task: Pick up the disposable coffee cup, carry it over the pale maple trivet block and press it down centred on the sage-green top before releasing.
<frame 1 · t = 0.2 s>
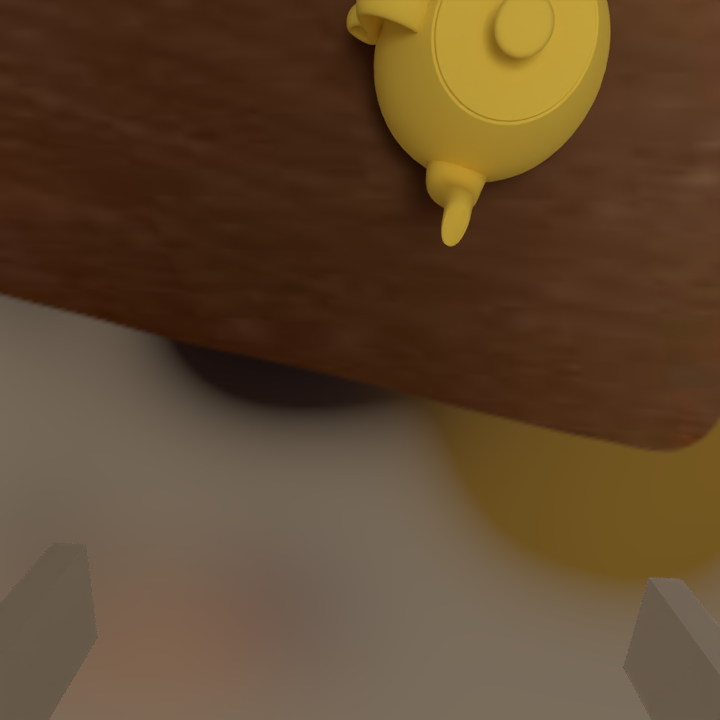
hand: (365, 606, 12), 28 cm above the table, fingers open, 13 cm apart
teapot: (459, 73, 34), on the table
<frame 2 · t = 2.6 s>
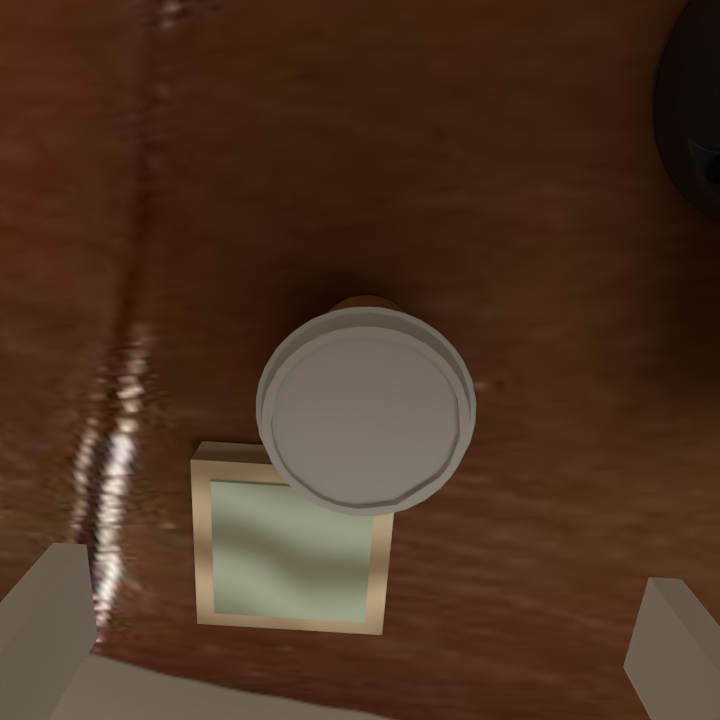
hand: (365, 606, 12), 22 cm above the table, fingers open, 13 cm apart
disposable coffee cup: (366, 343, 33), on the table
trivet: (296, 529, 37), on the table
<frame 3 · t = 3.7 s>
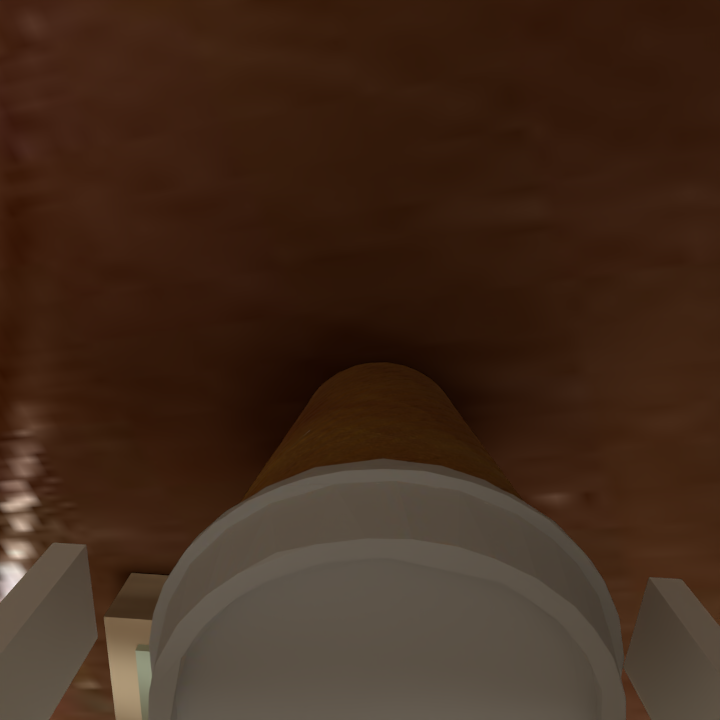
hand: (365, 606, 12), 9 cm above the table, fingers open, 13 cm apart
disposable coffee cup: (379, 434, 21), on the table
trivet: (275, 692, 25), on the table
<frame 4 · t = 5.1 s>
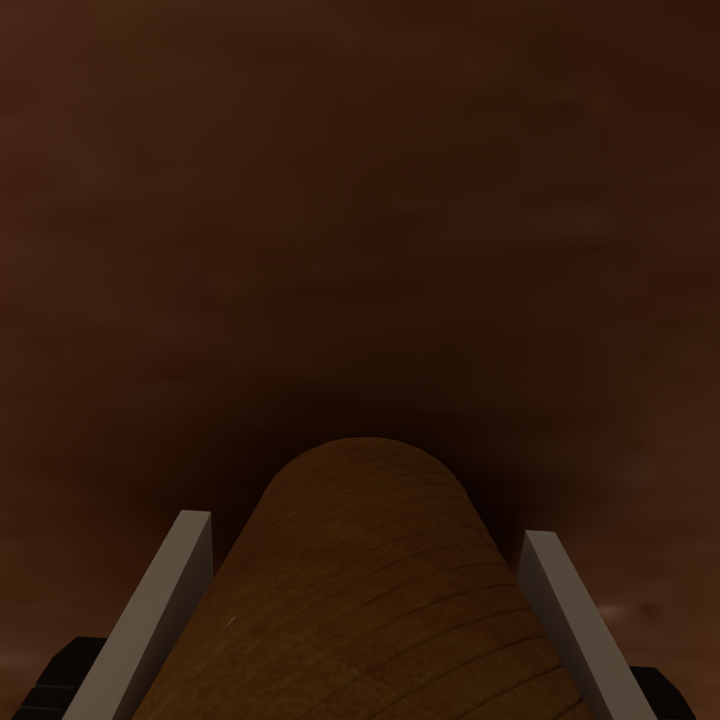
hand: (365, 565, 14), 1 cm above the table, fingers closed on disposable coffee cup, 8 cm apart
disposable coffee cup: (365, 529, 15), on the table, touching gripper
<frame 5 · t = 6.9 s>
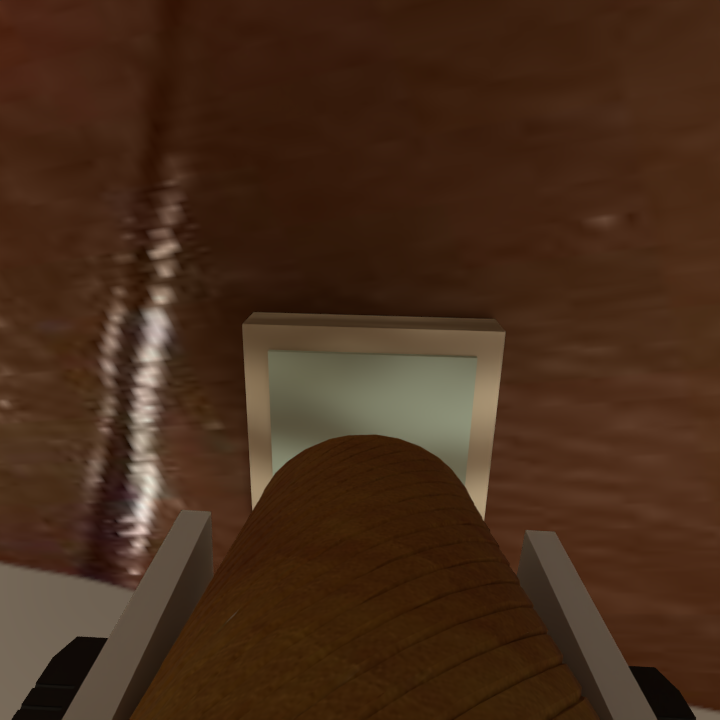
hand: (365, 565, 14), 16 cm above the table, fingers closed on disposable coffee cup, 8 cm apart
disposable coffee cup: (365, 528, 15), point 15 cm above the table, touching gripper
trivet: (370, 424, 30), on the table
when the fingers open (5 cm above the table, at t = 8.9 s): disposable coffee cup stays where it is, resting on trivet.
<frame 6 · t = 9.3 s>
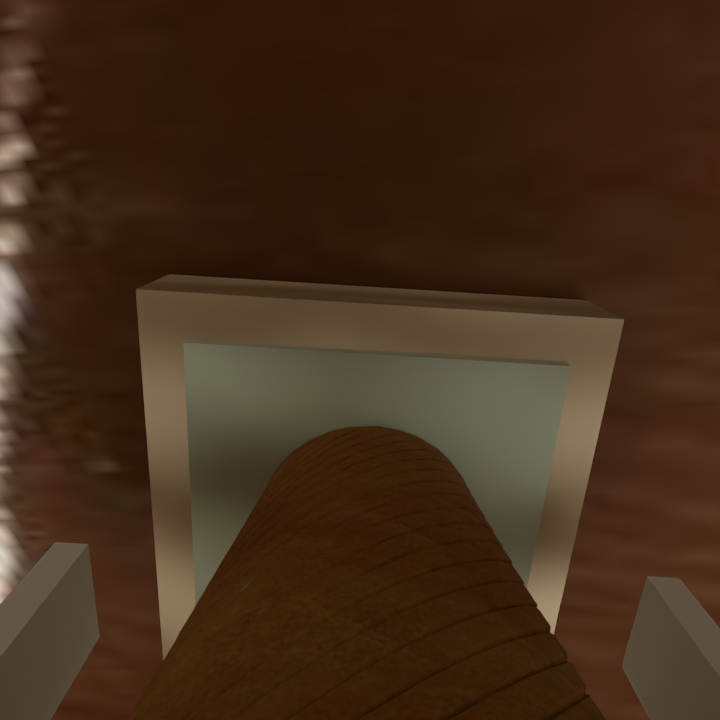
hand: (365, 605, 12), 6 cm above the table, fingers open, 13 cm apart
disposable coffee cup: (367, 516, 16), point 3 cm above the table, touching trivet
trivet: (365, 471, 18), on the table
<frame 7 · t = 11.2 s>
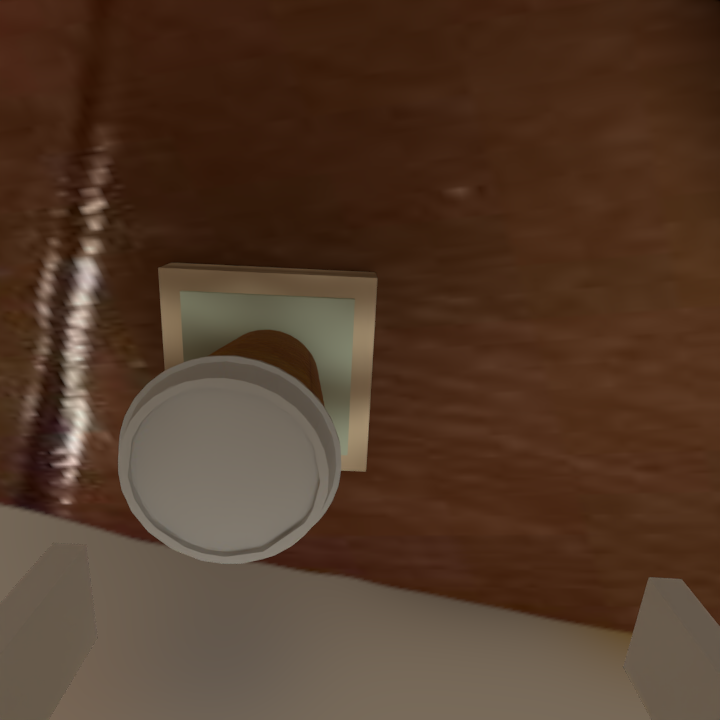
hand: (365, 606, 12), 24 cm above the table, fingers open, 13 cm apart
disposable coffee cup: (269, 376, 33), point 3 cm above the table, touching trivet
trivet: (274, 363, 35), on the table
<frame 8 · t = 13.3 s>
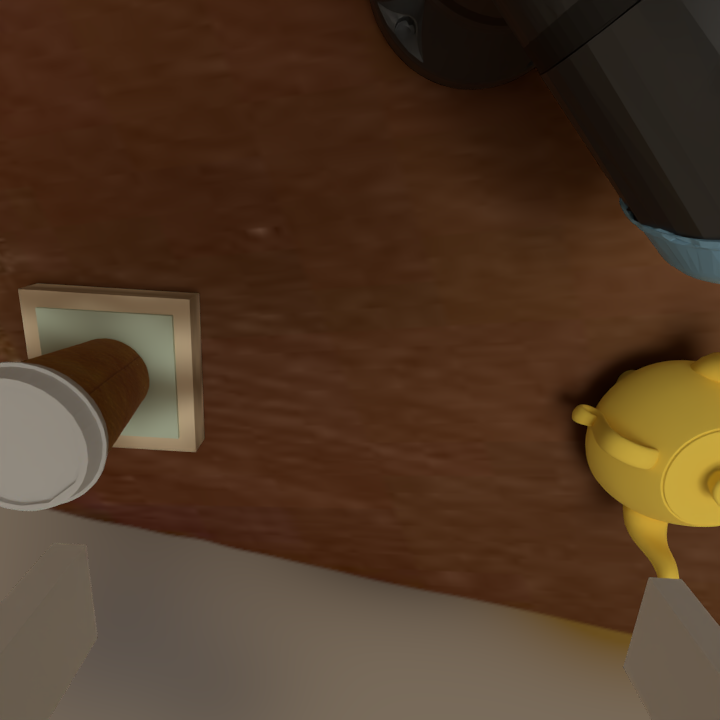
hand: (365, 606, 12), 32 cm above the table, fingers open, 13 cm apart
teapot: (635, 416, 45), on the table
disposable coffee cup: (111, 375, 42), point 3 cm above the table, touching trivet
trivet: (125, 364, 44), on the table
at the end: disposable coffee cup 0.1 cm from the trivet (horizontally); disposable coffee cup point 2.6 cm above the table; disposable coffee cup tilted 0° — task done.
